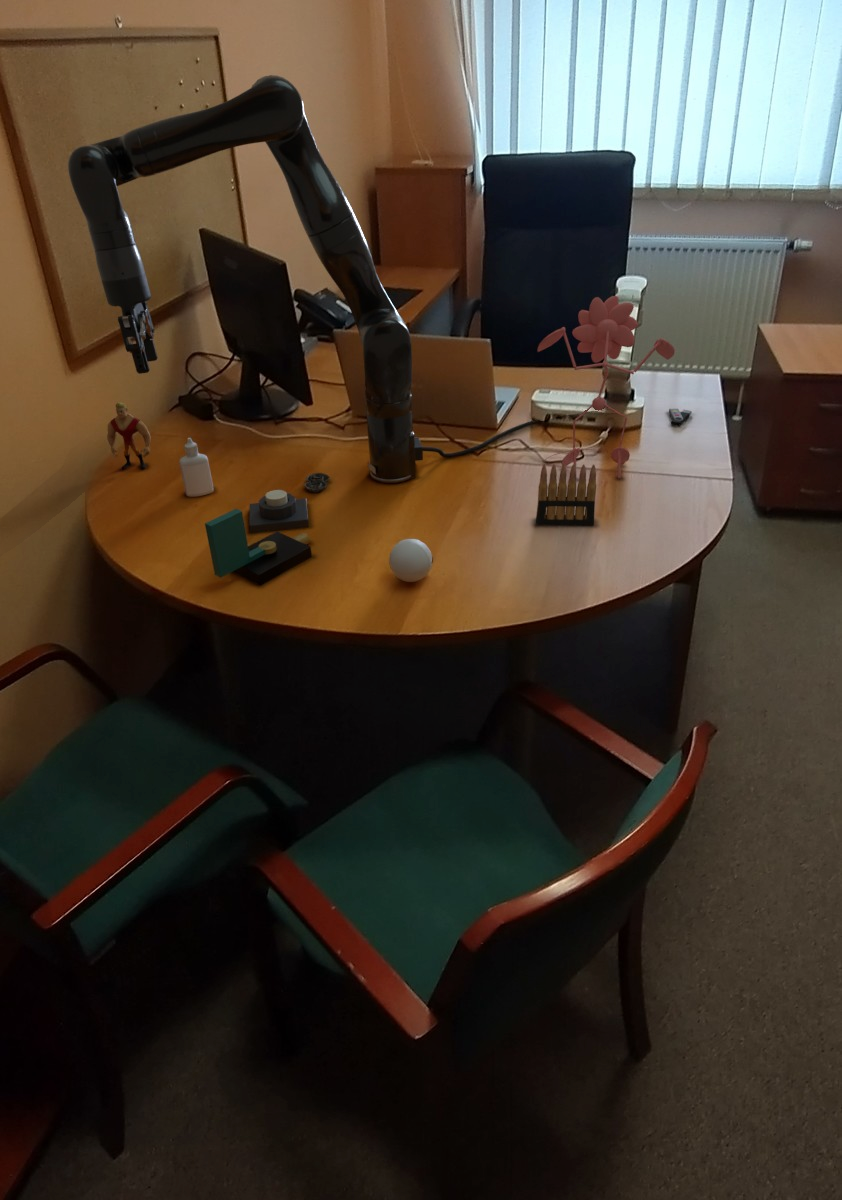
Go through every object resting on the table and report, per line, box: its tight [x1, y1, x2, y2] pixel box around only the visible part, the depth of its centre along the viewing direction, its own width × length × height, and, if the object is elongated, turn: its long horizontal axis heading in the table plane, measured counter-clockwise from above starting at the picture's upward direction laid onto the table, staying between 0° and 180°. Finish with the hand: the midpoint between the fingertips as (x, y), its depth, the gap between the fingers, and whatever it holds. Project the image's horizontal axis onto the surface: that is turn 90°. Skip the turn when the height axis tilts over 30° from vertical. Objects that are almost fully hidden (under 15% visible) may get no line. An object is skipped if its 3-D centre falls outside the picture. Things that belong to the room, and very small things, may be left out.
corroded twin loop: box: [303, 472, 330, 493], centre depth 174 cm, size 5×8×1 cm, turn 0°
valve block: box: [232, 530, 313, 586], centre depth 150 cm, size 15×9×2 cm, turn 139°
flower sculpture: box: [536, 295, 676, 479], centre depth 169 cm, size 15×26×35 cm, turn 90°
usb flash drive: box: [668, 408, 692, 427], centre depth 198 cm, size 9×5×1 cm, turn 147°
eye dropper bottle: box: [179, 437, 215, 498], centre depth 170 cm, size 4×6×12 cm
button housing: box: [248, 492, 310, 534], centre depth 162 cm, size 11×9×4 cm
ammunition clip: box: [535, 463, 597, 527], centre depth 155 cm, size 11×2×12 cm, turn 86°
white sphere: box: [388, 538, 434, 583], centre depth 143 cm, size 10×7×7 cm
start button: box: [265, 489, 288, 507], centre depth 160 cm, size 4×4×2 cm
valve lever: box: [204, 508, 276, 579], centre depth 142 cm, size 12×3×10 cm, turn 139°
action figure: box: [106, 401, 152, 470], centre depth 181 cm, size 10×4×15 cm, turn 88°
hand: (148, 366), depth 155 cm, fingers open, 8 cm apart
